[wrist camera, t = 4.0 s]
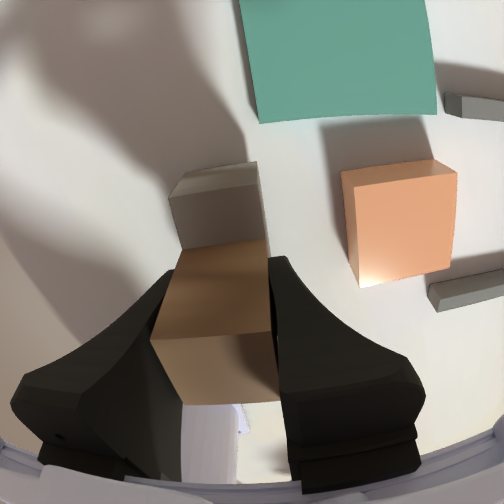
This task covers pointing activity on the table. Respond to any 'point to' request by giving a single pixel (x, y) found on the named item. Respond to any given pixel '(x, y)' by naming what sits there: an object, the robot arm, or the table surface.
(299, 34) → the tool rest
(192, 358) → the two-tone wooden block
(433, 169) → the orange block
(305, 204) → the table surface
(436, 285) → the corral
